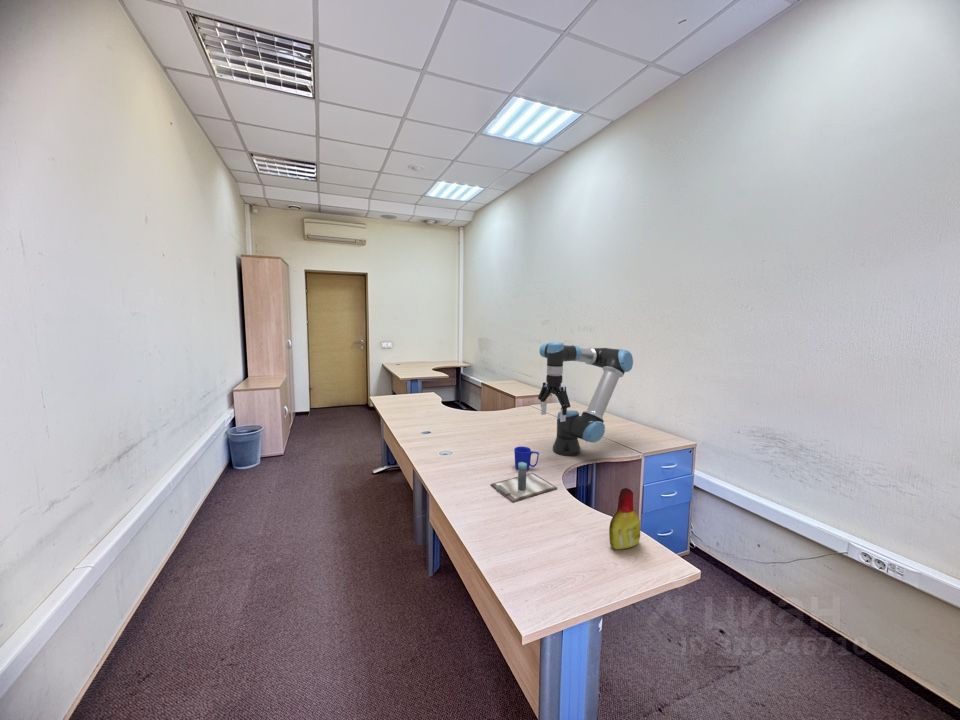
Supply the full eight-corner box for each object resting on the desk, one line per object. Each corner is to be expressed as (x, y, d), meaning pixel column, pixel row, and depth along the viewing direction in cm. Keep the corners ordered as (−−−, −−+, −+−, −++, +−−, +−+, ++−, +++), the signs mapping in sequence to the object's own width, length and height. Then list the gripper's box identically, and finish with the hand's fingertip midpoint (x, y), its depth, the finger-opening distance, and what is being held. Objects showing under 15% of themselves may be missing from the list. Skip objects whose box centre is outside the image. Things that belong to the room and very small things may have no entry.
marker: (522, 488, 157) (523, 461, 155) (527, 492, 154) (528, 464, 152) (515, 490, 155) (516, 463, 154) (520, 494, 152) (521, 466, 151)
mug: (537, 473, 174) (538, 453, 173) (512, 471, 177) (513, 451, 175) (538, 466, 182) (539, 447, 181) (514, 464, 185) (515, 445, 183)
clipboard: (532, 474, 173) (532, 470, 173) (557, 489, 159) (557, 485, 159) (490, 485, 161) (490, 482, 161) (512, 502, 147) (512, 498, 146)
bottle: (615, 555, 115) (619, 496, 113) (602, 543, 121) (605, 487, 119) (644, 547, 120) (648, 489, 117) (629, 536, 125) (633, 481, 123)
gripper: (531, 371, 181) (530, 412, 184) (567, 379, 160) (565, 425, 163) (543, 370, 185) (542, 410, 188) (579, 377, 164) (577, 423, 167)
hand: (552, 417), depth 175 cm, fingers open, 13 cm apart
